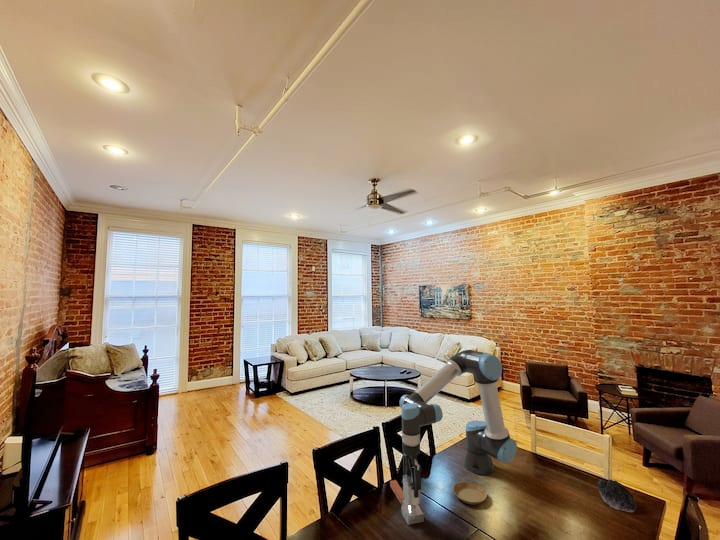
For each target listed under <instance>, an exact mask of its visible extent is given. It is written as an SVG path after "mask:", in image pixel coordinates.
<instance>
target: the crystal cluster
mask: <svg viewBox="0 0 720 540" xmlns="http://www.w3.org/2000/svg"><path fill="white" fill-rule="evenodd" d="M596 485H597V487H598V493H599V494H600V497H601V498H602V501H603V502H604V503H605V504H607V505H608V506H609V507H610V508H612V509H615V510H617V511H622V512H625V513H634V512H635V511H636V510H637V508H638V505H637V503H636V501H635V498H634V495H633V494H632V493H631V492H630V490H629V489H628V488H627V487H625V486H624V485H623V484H622V483H621V482H619V481H617V480H614V479H610V478H609V479H608V480H607V481H606V480H604V479H600V480H598V481H597V482H596Z"/></svg>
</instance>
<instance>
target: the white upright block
mask: <svg viewBox="0 0 720 540" xmlns="http://www.w3.org/2000/svg"><path fill="white" fill-rule="evenodd" d="M412 487H413V485H412V477H411V474H409V475H405V474H403V475H402V490H403V497H404V499H405V501H406V502H407V504H408V505H412V489H411V488H412ZM419 504H422V489H421V490H419Z"/></svg>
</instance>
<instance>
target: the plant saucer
mask: <svg viewBox="0 0 720 540" xmlns="http://www.w3.org/2000/svg"><path fill="white" fill-rule="evenodd" d="M452 491H453V493H454V494H455V496H456V498H457V499H458V500H460V501H461V502H463V503H465V504H466V505H467V504H468V505H472V506H473V505H479V504H481V503H483V502H484V501H485V500H486V499H487V497H488V494H487V491H486V490H485V488H483V487H482V486H480V485H479V484H477V483H474V482H470V481H460V482H456V483H455V484H454V485H453V487H452Z"/></svg>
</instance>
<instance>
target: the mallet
mask: <svg viewBox="0 0 720 540" xmlns="http://www.w3.org/2000/svg"><path fill="white" fill-rule="evenodd" d="M389 485H390V488H391V490H392V492H393V493H394V495H395V496H396V498H397V500H398V502H399V504H400V505H401V507H400V508H401V515H402V516H403V518H404V520H405V522H406V524H407V525H408V526H409V525H414V524H415V525H416V524H418V523H422V522H425V516H424V515H425V514H424V512H423V511H422V509H421V508H420V505H419V504H417V505H408V504H407V502H406V501H405V499H404V497H403V488H402V487H401V486H400V484H399V482H398V481H397V479H394V480H390V481H389Z"/></svg>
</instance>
